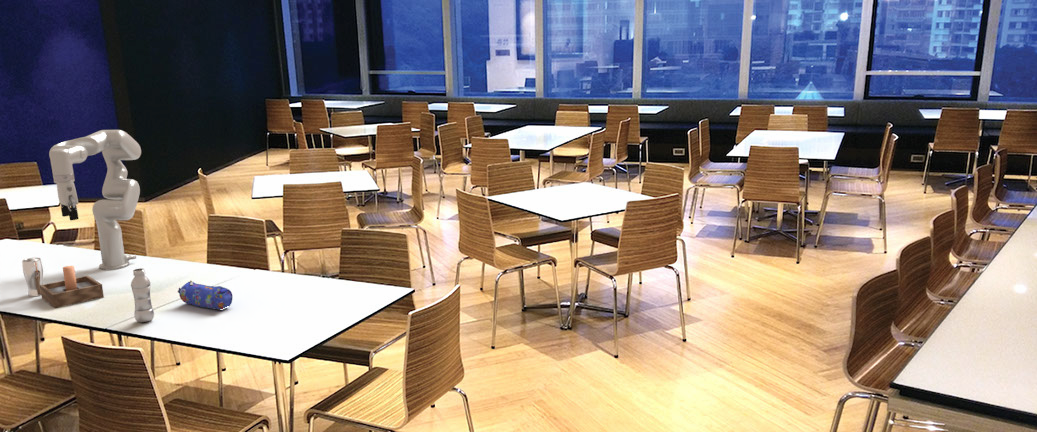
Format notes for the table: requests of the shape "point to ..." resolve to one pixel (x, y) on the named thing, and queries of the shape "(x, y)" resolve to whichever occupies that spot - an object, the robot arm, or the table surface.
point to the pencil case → (205, 295)
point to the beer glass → (33, 275)
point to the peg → (69, 278)
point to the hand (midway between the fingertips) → (70, 217)
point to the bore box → (71, 292)
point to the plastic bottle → (142, 296)
